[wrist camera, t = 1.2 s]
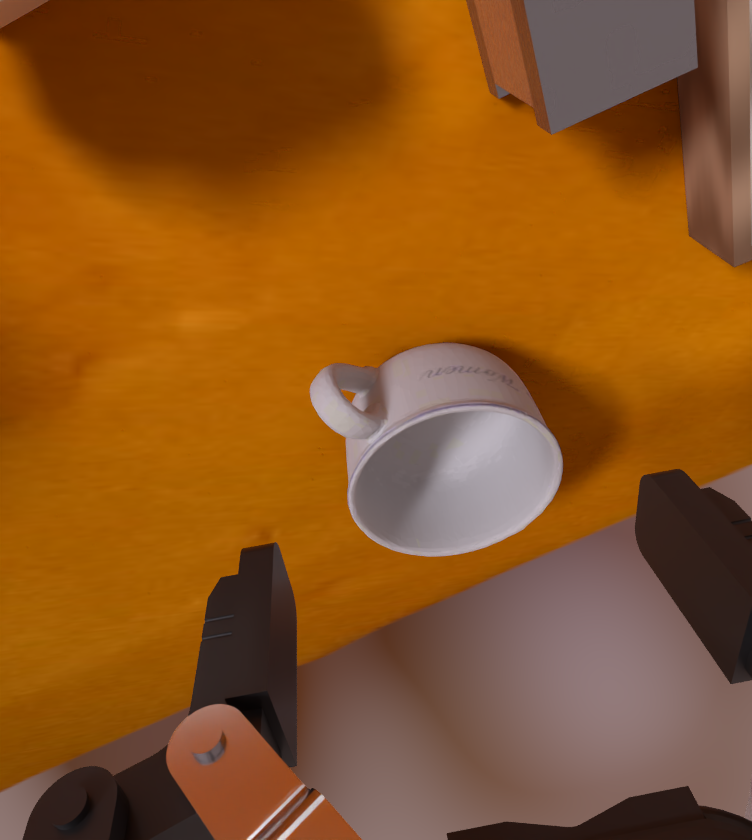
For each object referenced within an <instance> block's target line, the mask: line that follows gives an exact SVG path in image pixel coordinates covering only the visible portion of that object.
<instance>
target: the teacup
mask: <svg viewBox="0 0 752 840" xmlns="http://www.w3.org/2000/svg"><path fill="white" fill-rule="evenodd" d="M340 389H343V390H347V391H351V392H354V393H356V395H355V397H354V399H353V401H352V403H350V402H349V401H348V400H347V399H346V398H345V396H344V395H343V393H342V392H341V390H340ZM310 397H311V401H312V404H313V406H314V408H315V410H316V411H317V413H318V415H319V417H320V418H321V419H322V420H323V421H324V422H325V423H326V424H327V425H328V426H329V427H330V428H331V429H333V430H334V431H335V432H337V433H339V434H341V435H343V436H344V437H346V455H347V469H348V479H349V484H348V491H347V496H348V505H349V509H350V512H351V515H352V517H353V519H354V521H355V522H356V524H357V525H358V526H359V528H360V529H361V530H362V531H363V532H364V533H365V534H366V535H367V536H368V537H369V538H371V539H372V540H374V541H375V542H377V543H378V544H380V545H382V546H385V547H387V548H389V549H391V550H394V551H398V552H402V553H406V554H411V555H419V556H450V555H457V554H462V553H467V552H471V551H475V550H478V549H482V548H485V547H487V546H490V545H492V544H494V543H497V542H500V541H502V540H504V539H505V538H507V537H509V536H511V535H513V534H516V533H518V532H519V531H521V530H523V529H524V528H525V526H527V525H528V524H529V523H531V522H532V521H533V520H534V519H535V518H536V517H537V516H539V515H540V514H541V513H542V512H543V511H544V509H545V508H546V507H547V505H548V504H549V503H550V502H551V501H552V499H553V498H554V496H555V494H556V492H557V489H558V487H559V485H560V481H561V477H562V472H563V459H562V453H561V449H560V446H559V444H558V442H557V440H556V438H555V436H554V435H553V434H552V432H551V431H550V430H549V428H548V427H547V426H546V424H545V421H544V419H543V417H542V415H541V413H540V411H539V410H538V408H537V406H536V404H535V402H534V400H533V398H532V397H531V395H530V393H529V391H528V390H527V388H526V387H525V385H524V384H523V382H522V381H521V379H520V378H519V376H518V375H517V374H516V373H515V372H514V371H513V370H512V369H511V368H510V367H509V366H508V365H507V364H506V363H505V362H504V361H502V360H501V359H500V358H498V357H497V356H495V355H493V354H491V353H490V352H488V351H485V350H483V349H480V348H477V347H474V346H470V345H465V344H458V343H435V344H428V345H423V346H419V347H415V348H412V349H410V350H407V351H405V352H402V353H400V354H398V355H396V356H394V357H392V358H391V359H389V360H387V361H386V362H384V363H383V364H382V365H381V366H379V367H378V368H374V367H370V366H365V367H358V366H354V365H349V364H343V363H335V364H331V365H329V366H327V367H325V368H323V369H322V370H321V371H320V372H319V374H318V375H317V376H316V377H315V379H314V380H313V382H312V384H311V387H310Z"/></svg>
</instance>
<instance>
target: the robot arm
mask: <svg viewBox="0 0 752 840" xmlns="http://www.w3.org/2000/svg"><path fill="white" fill-rule="evenodd" d="M635 534H636V540H637V543H638V546H639V549H640V551H641V553H642V555H643V556H644V558H645V559H646V561H647V562H648V564H649V565H650V567H651V568H652V570H653V571H654V573H655V574H656V576H657V577H658V578H659V580H660V581H661V583H662V584H663V586H664V587H665V589H666V590H667V592H668V593H669V595H670V596H671V597H672V599H673V600H674V602H675V603H676V605H677V606H678V607H679V609H680V611H681V612H682V613H683V615H684V616H685V618H686V619H687V621H688V622H689V624H690V625H691V626H692V628H693V630H694V631H695V632H696V634H697V635H698V637H699V638H700V639H701V641H702V643H703V644H704V646H705V647H706V649H707V650H708V651H709V653H710V654H711V656H712V657H713V659H714V660H715V662H716V663H717V665H718V666H719V667H720V669H721V670H722V672H723V673H724V675H725V676H726V678H727V679H728V681H729V682H730V684H734V683H739V682H744V681H750V680H752V521H751V518H750V517H749V516H748V515H747V514H746V513H745V512H744V511H743V510H742V509H741V508H740V507H739V505H737V503H735V501H733V500H732V499H730V498H728V497H726V496H724V495H723V494H721V493H719V492H717V491H715V490H714V489H712V488H710V487H709V488H704V489H700V488H699V487H698V486H697V485H696V484H695V483H694V482H693V481H692V480H691V478H690V477H689V476H688V475H687V474H686V473H685V472H684V471H682V470H680V469H674V470H669V471H663V472H658V473H653V474H647V475H644V476H642V478H641V480H640V486H639V495H638V505H637V514H636V523H635ZM294 766H297V617H296V606H295V600H294V595H293V591H292V587H291V584H290V581H289V578H288V575H287V571H286V568H285V565H284V562H283V559H282V555H281V552H280V549H279V546H278V544H277V543H276V542H275V543H270V544H265V545H259V546H254V547H248V548H243V549H242V550H241V555H240V563H239V572H238V574H237V575H232V576H226V577H221V578H220V580H219V581H218V583H217V584H216V586H215V588H214V589H213V591H212V593H211V594H210V596H209V597H208V602H207V608H206V614H205V624H204V627H203V633H202V642H201V645H200V651H199V658H198V664H197V670H196V676H195V683H194V689H193V695H192V701H191V707H190V711H189V714H188V717H187V718H186V719H185V720H184V721H183V722H182V723H181V724H180V725H179V726H178V727H177V729H176V730H175V732H174V733H173V735H172V737H171V739H170V741H169V744H168V745H167V746H166V747H164V748H163V749H162V750H160V751H159V752H158V753H156V754H154V755H153V756H151V757H149V758H147V759H145V760H143V761H141V762H139V763H137V764H135V765H134V766H132V767H130V768H128V769H126V770H124V771H122V772H120V773H118V774H116V775H114V776H112V774H111V773H110V772H109V771H108V770H106V769H104V768H101V767H97V766H89V767H83V768H80V769H77V770H74V771H72V772H70V773H68V774H66V775H65V776H63V777H62V778H60V779H59V780H57V782H55V783H54V784H53V785H52V786H51V787H50V788H48V790H47V791H46V792H45V793H44V794H43V795H42V796H41V798H40V799H39V801H38V802H37V804H36V805H35V807H34V809H33V811H32V813H31V815H30V817H29V820H28V823H27V826H26V830H25V833H24V837H23V840H362V839H361V838H360V837H359V836H358V835H357V833H356V832H355V831H354V830H353V829H352V828H351V827H350V826H349V824H348V823H347V822H346V821H345V820H344V819H343V818H342V816H341V815H340V814H339V813H338V812H337V811H336V810H335V808H334V807H333V806H332V805H331V804H330V803H329V802H328V801H327V800H326V798H324V797H323V795H321V794H320V793H319V792H318V791H317V790H316V789H313V788H312V789H311V790H310V789H308V788H307V787H306V786H305V785H304V784H303V783H302V782H301V781H300V780H299V779H298V778H297V776H296V775H295V774H294V773H293V772H292V771H291V770H290V768H289V767H294ZM447 838H448V840H752V780H751V788H750V795H749V800H748V804H747V809H746V814H745V818H743V817H741V816H739V815H736V814H733V813H730V812H727V811H724V810H720V809H716V808H711V807H707V806H699V805H698V804H697V802H696V800H695V798H694V796H693V794H692V792H691V791H690V789H689V787H688V786H686V787H680V788H675V789H670V790H665V791H660V792H655V793H650V794H645V795H640V796H635V797H629V798H628V799H626V800H624V801H622V802H620V803H618V804H617V805H615V806H613V807H611V808H609V809H608V810H606V811H604V812H602V813H601V814H598V815H597V816H595V817H593V818H591V819H589V820H588V821H586V822H584V823H582V824H581V825H578V826H575V827H560V826H548V825H538V824H527V823H516V822H503V823H498V824H492V825H487V826H482V827H477V828H472V829H467V830H461V831H456V832H451V833H447Z"/></svg>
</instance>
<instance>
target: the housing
mask: <svg viewBox="0 0 752 840" xmlns="http://www.w3.org/2000/svg"><path fill="white" fill-rule="evenodd" d="M466 1H467V5H468V9H469V13H470V17H471V21H472V25H473V28H474V32H475V36H476V40H477V44H478V48H479V52H480V56H481V59H482V63H483V67H484V71H485V75H486V79H487V83H488V87H489V90H490V93H491V94H493V95H494V96H496V97H497V98H501V97H503V96H506V95H508V94H510V93H511V94H512V95H514V96H515V97H517V98H519V99H520V100H522V101H523V102H525V103H526V104H528V105H530V106H531V107H533V108H534V111H535V116H536V120H537V125H538V126H540V127H541V128H542V129H544V130H545V131H547V132H548V133H550V134H551V135H552V134H554V133H556V132H558V131H560V130H563V129H565V128H567V127H569V126H571V125H574V124H576V123H578V122H580V121H582V120H584V119H587V118H589V117H591V116H593V115H595V114H597V113H600V112H602V111H604V110H606V109H608V108H611V107H613V106H615V105H617V104H619V103H621V102H624V101H626V100H628V99H630V98H632V97H635V96H637V95H639V94H641V93H643V92H645V91H648V90H650V89H652V88H654V87H656V86H658V85H661V84H663V83H665V82H667V81H669V80H672V79H674V78H676V77H678V76H680V75H682V74H685V73H687V72H689V71H691V70H693V69H695V68H698V61H697V43H696V25H695V7H694V0H466Z"/></svg>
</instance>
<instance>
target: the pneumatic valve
mask: <svg viewBox="0 0 752 840" xmlns="http://www.w3.org/2000/svg"><path fill="white" fill-rule="evenodd" d="M47 1H49V0H0V28H2V27H4V26H6V25H7V24H9V23H11V22H13V21H14V20H16V19H18V18H19V17H21V16H23V15H25V14H26V13H28V12H30V11H32V10H33V9H35V8H37V7H39V6H40V5H42V4H44V3H46V2H47Z"/></svg>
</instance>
